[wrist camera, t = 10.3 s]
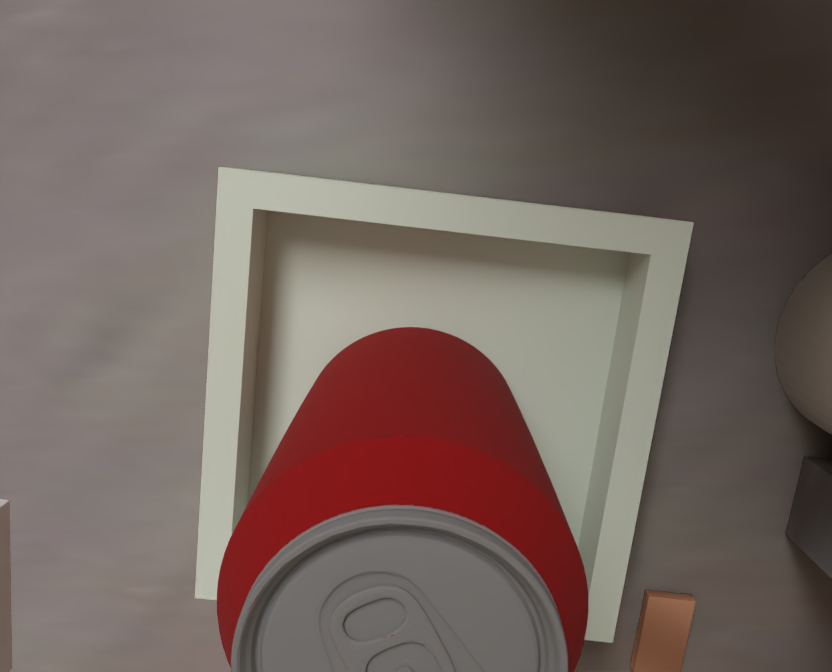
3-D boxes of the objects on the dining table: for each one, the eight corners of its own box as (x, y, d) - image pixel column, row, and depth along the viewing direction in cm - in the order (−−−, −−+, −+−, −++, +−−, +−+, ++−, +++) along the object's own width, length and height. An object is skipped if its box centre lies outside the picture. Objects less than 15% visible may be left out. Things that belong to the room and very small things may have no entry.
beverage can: (363, 552, 24) (306, 905, 12) (268, 375, 23) (104, 580, 11) (550, 471, 23) (678, 762, 12) (462, 284, 22) (509, 399, 10)
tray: (241, 168, 22) (218, 166, 20) (663, 218, 22) (694, 222, 20) (217, 556, 25) (194, 597, 22) (594, 597, 25) (612, 643, 22)
